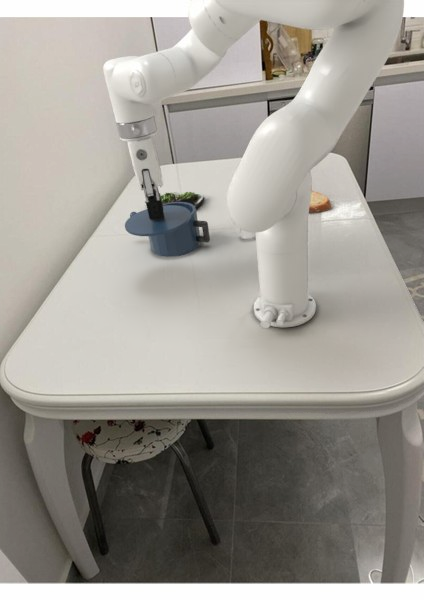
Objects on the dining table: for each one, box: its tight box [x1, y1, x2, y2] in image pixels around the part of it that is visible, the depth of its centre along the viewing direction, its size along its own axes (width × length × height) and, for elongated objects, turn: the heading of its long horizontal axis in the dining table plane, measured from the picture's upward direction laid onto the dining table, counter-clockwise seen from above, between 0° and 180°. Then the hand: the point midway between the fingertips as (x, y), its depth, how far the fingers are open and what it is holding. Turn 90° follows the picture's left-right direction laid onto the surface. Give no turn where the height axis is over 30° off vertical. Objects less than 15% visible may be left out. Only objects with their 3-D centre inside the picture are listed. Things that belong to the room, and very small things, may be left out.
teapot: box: [147, 202, 202, 258], centre depth 117 cm, size 14×14×10 cm
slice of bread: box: [309, 190, 333, 214], centre depth 132 cm, size 18×18×4 cm
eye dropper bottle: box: [239, 228, 256, 240], centre depth 115 cm, size 4×6×12 cm
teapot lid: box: [124, 190, 191, 237], centre depth 95 cm, size 15×15×7 cm
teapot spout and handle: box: [129, 211, 211, 243], centre depth 117 cm, size 2×23×8 cm, turn 67°
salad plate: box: [144, 191, 205, 210], centre depth 142 cm, size 19×18×5 cm
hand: (156, 214), depth 96 cm, fingers closed on teapot lid, 3 cm apart
